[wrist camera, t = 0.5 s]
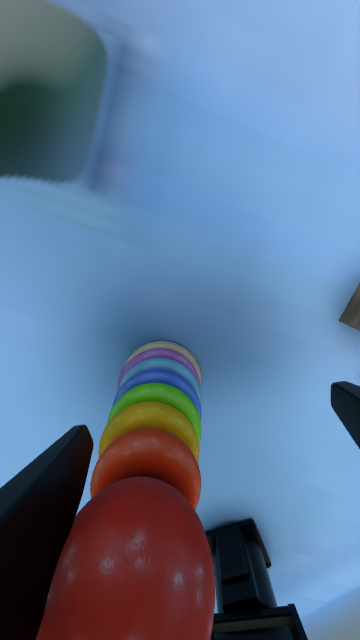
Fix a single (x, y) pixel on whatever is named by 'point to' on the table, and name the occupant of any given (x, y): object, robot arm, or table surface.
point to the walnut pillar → (352, 311)
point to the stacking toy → (140, 516)
